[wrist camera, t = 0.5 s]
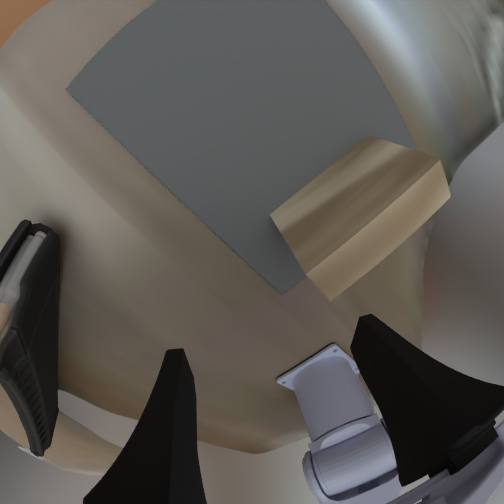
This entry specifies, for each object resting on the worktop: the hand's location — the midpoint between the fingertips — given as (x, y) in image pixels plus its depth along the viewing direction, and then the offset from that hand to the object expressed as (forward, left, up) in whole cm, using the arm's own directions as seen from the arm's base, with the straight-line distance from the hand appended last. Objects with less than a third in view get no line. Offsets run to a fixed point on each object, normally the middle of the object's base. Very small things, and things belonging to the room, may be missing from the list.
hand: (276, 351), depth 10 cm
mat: (+5, -7, -10) cm, 13 cm away
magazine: (+6, +22, -10) cm, 25 cm away
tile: (-1, -7, -10) cm, 12 cm away
